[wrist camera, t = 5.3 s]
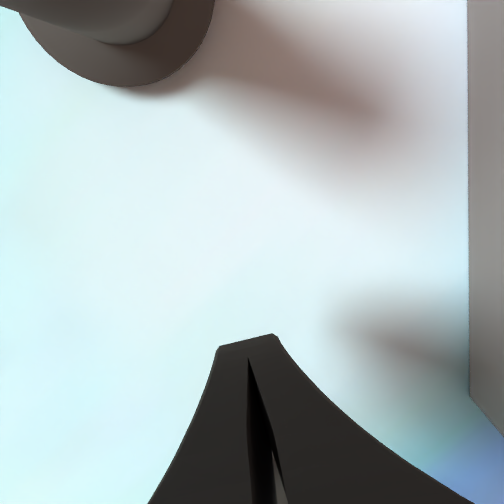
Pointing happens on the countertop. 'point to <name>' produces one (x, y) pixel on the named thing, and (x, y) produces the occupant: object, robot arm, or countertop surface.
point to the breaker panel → (486, 206)
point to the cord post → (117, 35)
